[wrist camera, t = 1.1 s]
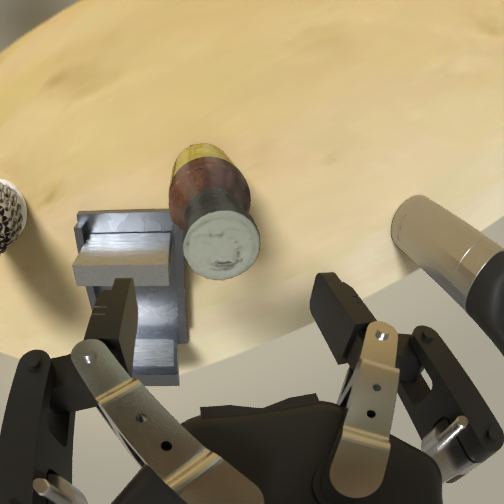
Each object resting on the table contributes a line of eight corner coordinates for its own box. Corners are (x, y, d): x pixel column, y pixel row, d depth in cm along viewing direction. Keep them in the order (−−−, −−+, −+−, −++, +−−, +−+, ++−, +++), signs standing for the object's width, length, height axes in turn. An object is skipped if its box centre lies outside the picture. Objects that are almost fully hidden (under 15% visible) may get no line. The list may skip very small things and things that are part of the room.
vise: (183, 208, 34) (182, 244, 26) (187, 338, 44) (190, 385, 36) (79, 211, 31) (51, 247, 24) (106, 338, 41) (98, 383, 34)
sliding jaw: (170, 232, 34) (167, 264, 28) (171, 251, 35) (168, 286, 29) (90, 234, 32) (72, 265, 26) (93, 253, 33) (77, 286, 27)
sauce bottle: (211, 203, 34) (238, 320, 18) (163, 180, 32) (138, 283, 15) (241, 154, 32) (303, 230, 15) (191, 128, 30) (194, 173, 13)
